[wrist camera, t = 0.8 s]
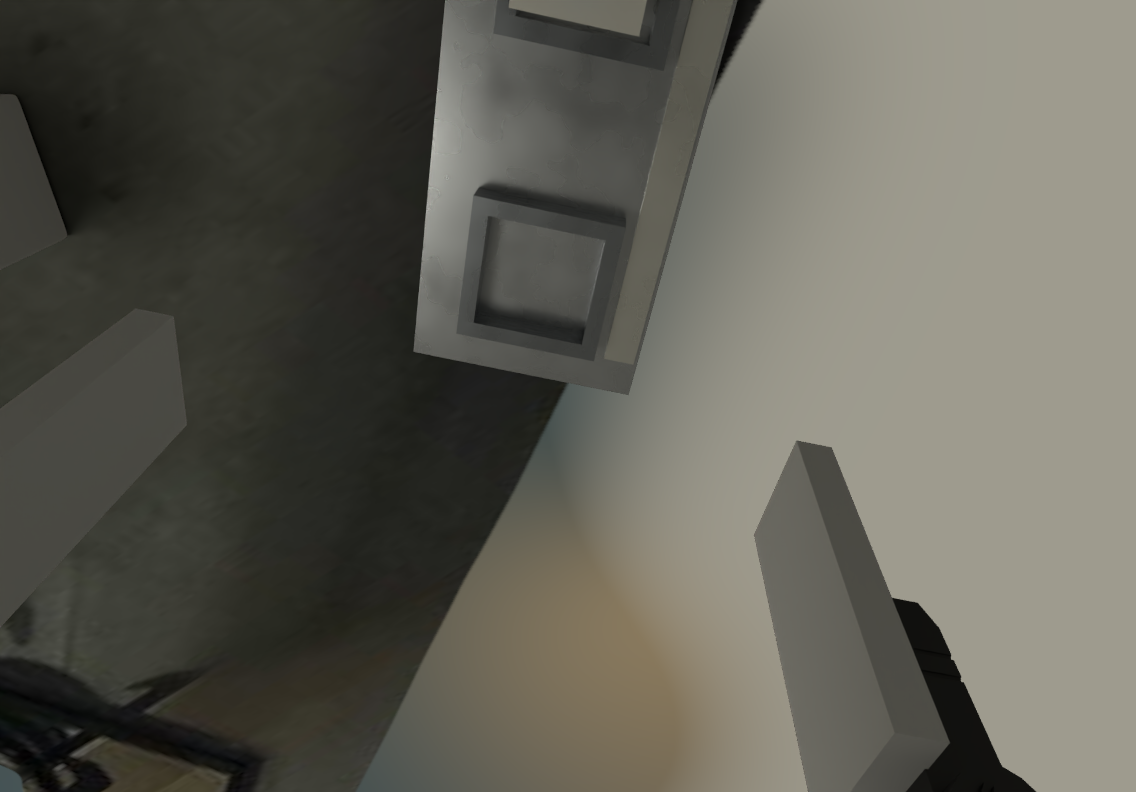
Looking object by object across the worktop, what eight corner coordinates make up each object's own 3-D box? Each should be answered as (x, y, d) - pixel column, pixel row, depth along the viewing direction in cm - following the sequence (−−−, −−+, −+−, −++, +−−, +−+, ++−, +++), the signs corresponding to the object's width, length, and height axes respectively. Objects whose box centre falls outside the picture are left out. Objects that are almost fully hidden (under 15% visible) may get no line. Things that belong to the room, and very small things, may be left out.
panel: (475, -270, 27) (462, -290, 24) (787, -196, 27) (801, -210, 25) (418, 343, 40) (406, 364, 38) (628, 385, 40) (628, 409, 38)
